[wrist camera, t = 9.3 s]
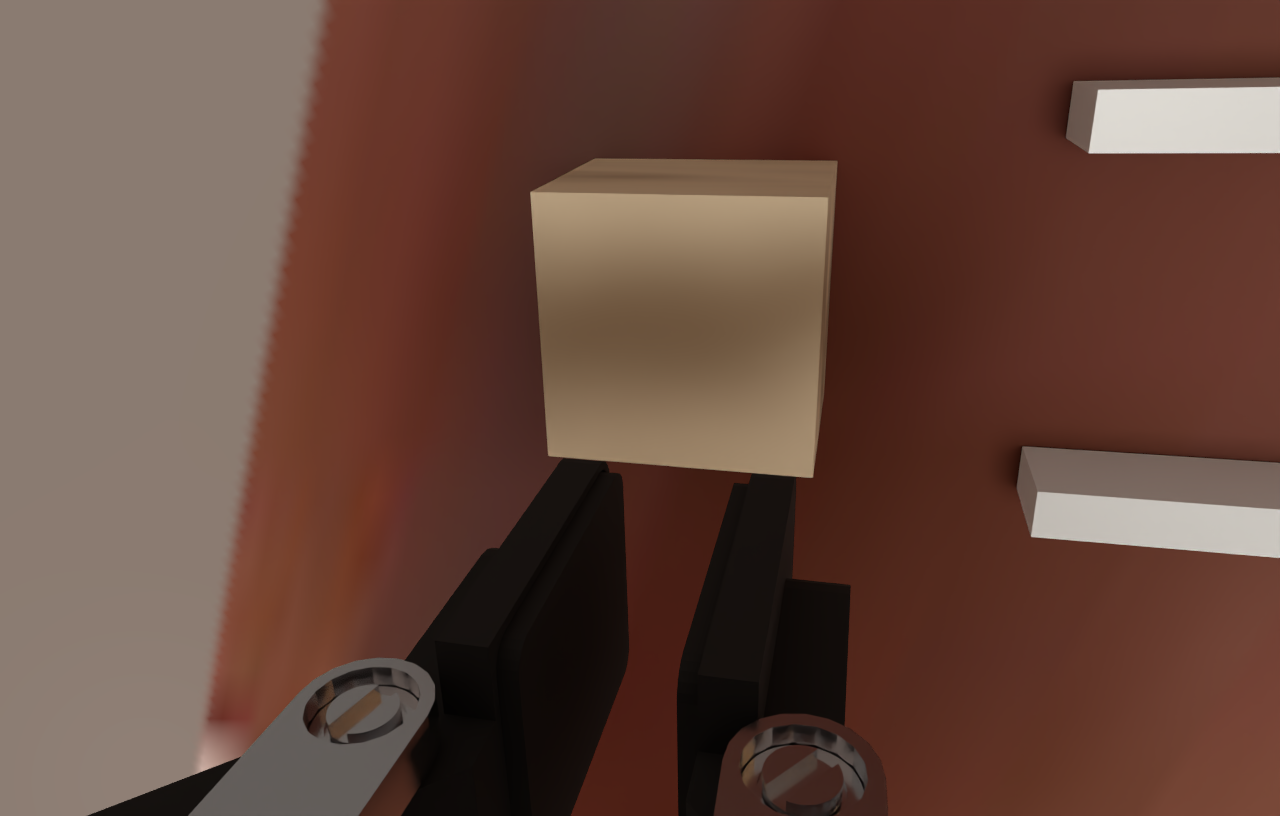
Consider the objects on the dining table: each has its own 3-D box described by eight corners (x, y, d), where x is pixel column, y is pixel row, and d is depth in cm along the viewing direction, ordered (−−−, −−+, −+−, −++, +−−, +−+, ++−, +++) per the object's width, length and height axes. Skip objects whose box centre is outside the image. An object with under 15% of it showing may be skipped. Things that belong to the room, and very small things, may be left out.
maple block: (824, 392, 24) (812, 477, 20) (605, 378, 26) (548, 455, 21) (837, 160, 22) (828, 197, 18) (596, 157, 23) (530, 191, 19)
